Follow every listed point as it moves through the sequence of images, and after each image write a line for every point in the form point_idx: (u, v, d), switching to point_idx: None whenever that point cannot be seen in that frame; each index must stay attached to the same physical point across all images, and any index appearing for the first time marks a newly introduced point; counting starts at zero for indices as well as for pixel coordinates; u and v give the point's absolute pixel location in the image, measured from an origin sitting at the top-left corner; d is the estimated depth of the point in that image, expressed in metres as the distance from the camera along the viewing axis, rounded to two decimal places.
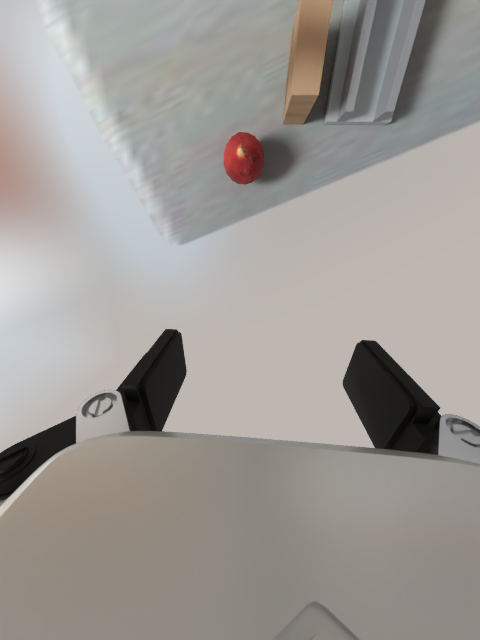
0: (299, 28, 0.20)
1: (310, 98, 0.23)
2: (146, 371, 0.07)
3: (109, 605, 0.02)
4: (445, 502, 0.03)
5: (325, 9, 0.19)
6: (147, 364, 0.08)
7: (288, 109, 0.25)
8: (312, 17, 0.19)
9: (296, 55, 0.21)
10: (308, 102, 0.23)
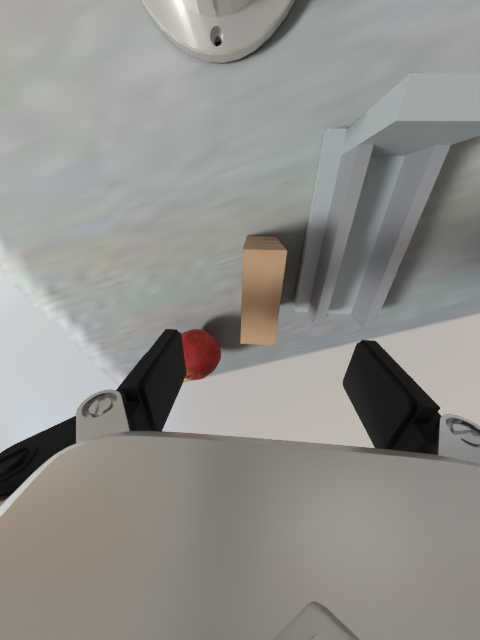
0: (243, 293, 0.15)
1: None
2: (146, 371, 0.07)
3: (109, 605, 0.02)
4: (445, 502, 0.03)
5: (275, 280, 0.14)
6: (147, 364, 0.08)
7: None
8: (258, 286, 0.15)
9: (242, 313, 0.16)
10: None
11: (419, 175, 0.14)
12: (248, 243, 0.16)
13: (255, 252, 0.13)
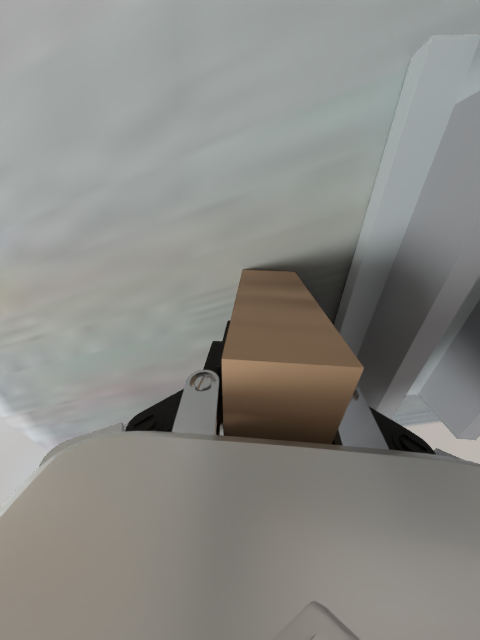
0: None
1: None
2: None
3: (109, 605, 0.02)
4: (445, 502, 0.03)
5: (314, 428, 0.05)
6: None
7: None
8: (268, 435, 0.05)
9: None
10: None
11: None
12: (242, 308, 0.07)
13: (259, 368, 0.04)
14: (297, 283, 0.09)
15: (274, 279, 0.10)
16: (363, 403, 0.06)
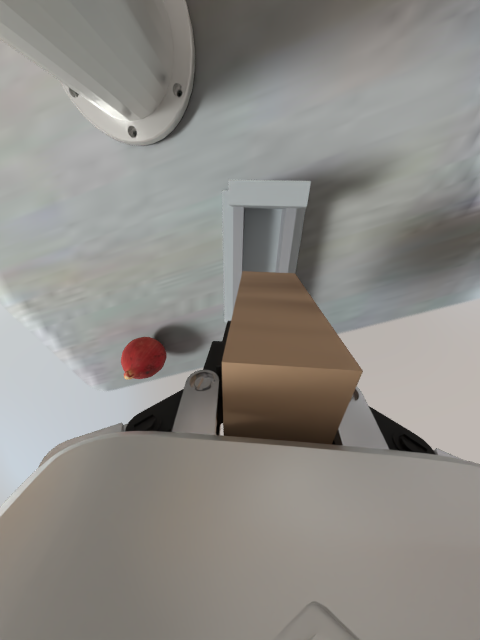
0: None
1: None
2: None
3: (109, 605, 0.02)
4: (445, 502, 0.03)
5: (314, 430, 0.05)
6: None
7: None
8: (268, 437, 0.05)
9: None
10: None
11: (283, 226, 0.19)
12: (242, 310, 0.07)
13: (258, 371, 0.04)
14: (297, 285, 0.09)
15: (274, 281, 0.10)
16: (363, 403, 0.06)
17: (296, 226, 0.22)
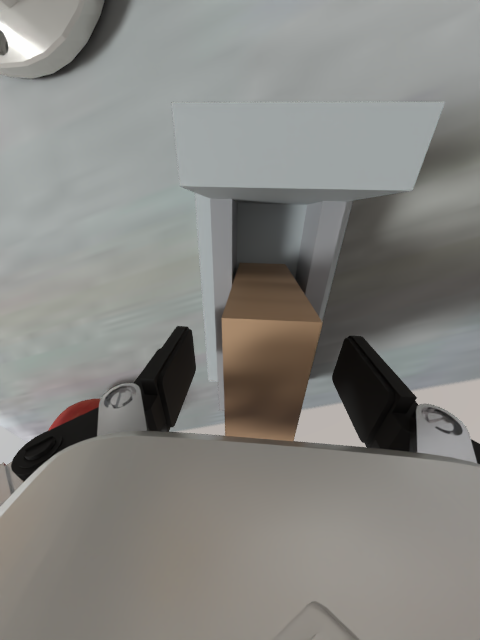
0: (226, 392, 0.07)
1: None
2: (162, 365, 0.07)
3: (109, 605, 0.02)
4: (445, 502, 0.03)
5: (292, 375, 0.07)
6: (162, 359, 0.08)
7: None
8: (257, 383, 0.07)
9: None
10: None
11: (313, 239, 0.10)
12: (238, 289, 0.08)
13: (248, 325, 0.06)
14: (285, 272, 0.11)
15: (266, 269, 0.11)
16: (466, 442, 0.05)
17: None
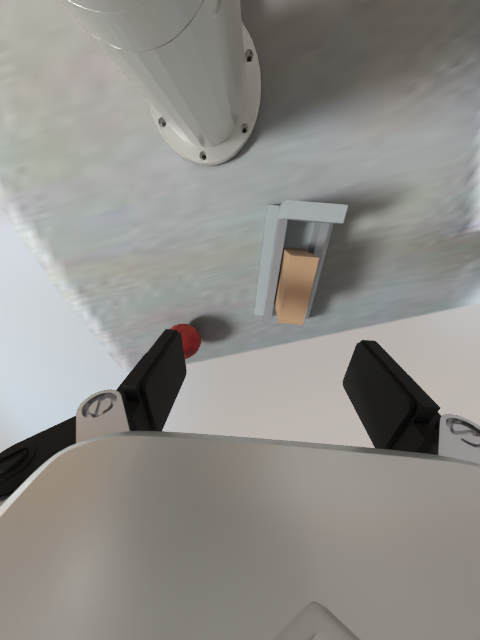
0: (285, 285, 0.22)
1: None
2: (146, 371, 0.07)
3: (109, 605, 0.02)
4: (445, 502, 0.03)
5: (309, 277, 0.21)
6: (147, 364, 0.08)
7: (277, 311, 0.27)
8: (297, 280, 0.22)
9: (283, 299, 0.23)
10: None
11: (317, 236, 0.24)
12: (289, 252, 0.23)
13: (298, 258, 0.20)
14: (304, 250, 0.25)
15: (296, 249, 0.26)
16: None
17: None
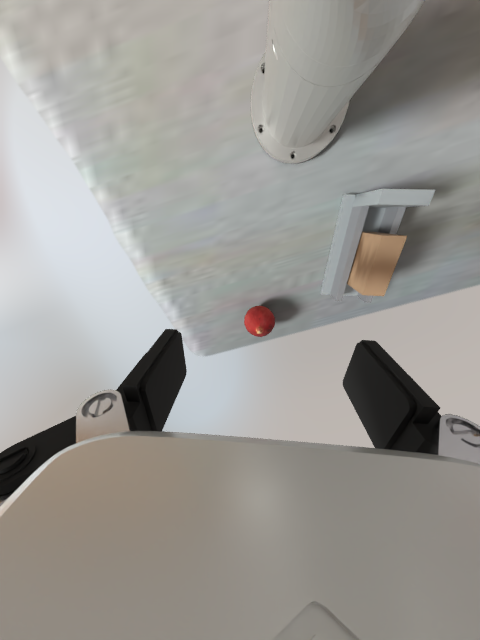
0: (374, 261, 0.26)
1: None
2: (146, 371, 0.07)
3: (109, 605, 0.02)
4: (445, 502, 0.03)
5: (395, 253, 0.25)
6: (147, 364, 0.08)
7: (353, 287, 0.31)
8: (385, 257, 0.26)
9: (369, 274, 0.27)
10: None
11: (392, 219, 0.28)
12: (373, 233, 0.27)
13: (388, 237, 0.25)
14: (379, 232, 0.29)
15: (370, 232, 0.30)
16: None
17: None
